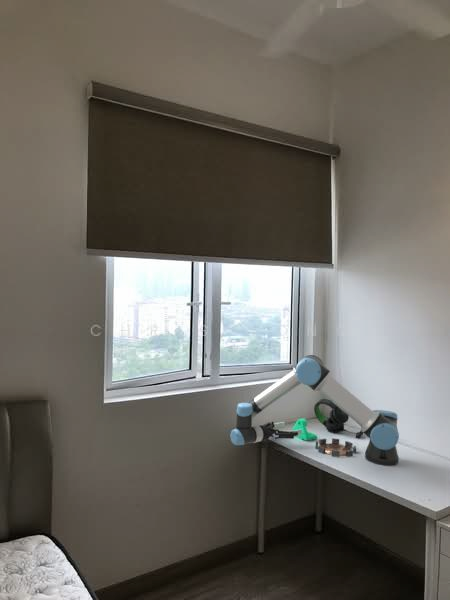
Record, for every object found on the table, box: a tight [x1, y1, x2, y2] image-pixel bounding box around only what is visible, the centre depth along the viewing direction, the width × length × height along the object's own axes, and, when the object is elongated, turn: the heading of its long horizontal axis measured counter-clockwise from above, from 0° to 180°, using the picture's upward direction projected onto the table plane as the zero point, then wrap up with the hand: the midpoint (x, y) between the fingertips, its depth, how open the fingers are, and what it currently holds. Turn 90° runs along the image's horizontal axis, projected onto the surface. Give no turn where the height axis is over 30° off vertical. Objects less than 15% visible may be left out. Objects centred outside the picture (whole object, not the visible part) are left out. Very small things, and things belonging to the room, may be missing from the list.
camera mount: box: [291, 418, 318, 441], centre depth 253 cm, size 12×8×10 cm, turn 31°
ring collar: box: [315, 437, 357, 458], centre depth 236 cm, size 19×19×2 cm
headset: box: [313, 398, 364, 439], centre depth 264 cm, size 18×14×29 cm
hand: (292, 428), depth 249 cm, fingers open, 13 cm apart
